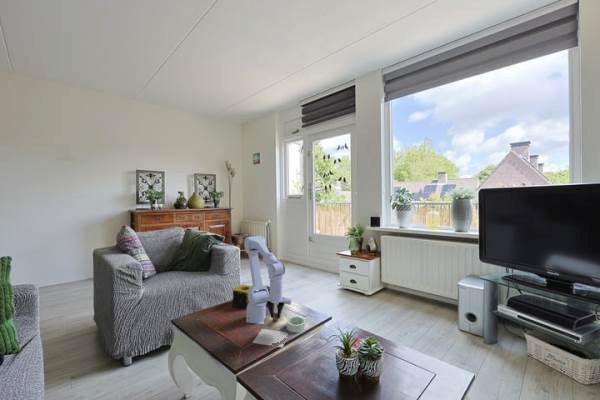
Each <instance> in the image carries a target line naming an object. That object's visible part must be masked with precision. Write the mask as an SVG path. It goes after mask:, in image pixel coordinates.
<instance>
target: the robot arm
mask: <svg viewBox="0 0 600 400" xmlns="http://www.w3.org/2000/svg"><path fill="white" fill-rule="evenodd" d="M243 244H244V245H243V246H244V251H245V253H246V254H247V255H248V260H249V261H248V262H249V267H250V275H251V282H252V285H251V286H252V287H251V288H250V289H249V290H248V300H249V303H248V305H247V309H246V318H245V319H246V321H245V322H246V323H251V324H256V325H264V319H265V318H266V317H268V316H271V318H273V313H275V304H277V305H276V308H277V313H278V316H277V318H278V319H279V318H280V315H281V316H282V311H283V308H284V306H285V305H286V304H287V305H288V306H289V305H290V306H291V304H292V298H288V297H284V296H283V275H284V274H285V272H286V266H285V264H284V262H283V261H280V260H278V258H277V257H276V256H275V255H274V253H273V252H270V251H269V249H268V247H267V245H266V238H265V237H264V235H256V236H255V235H254V236H246V237H245V239H244V243H243ZM259 253H260V255H261V256H262V261H263V263H264V264H265V266H266V267H267V273H268V279H269V286H270V296H269V292H268V290H267V287H266V285H265V284H263V281H262V273H261V267H260V260H259ZM260 289H261V290H260ZM259 290H260V291H259ZM254 291H256V292H254ZM266 307H267V309H268V311H269V315H268V316H266V310H267V309H266Z"/></svg>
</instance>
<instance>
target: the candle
mask: <svg viewBox="0 0 600 400" xmlns="http://www.w3.org/2000/svg"><path fill="white" fill-rule="evenodd" d="M251 287H252V285H245V284H240V285H238V286H237V287H235V288H234V289H232V300H231V302H232V304H231V306H232V307H233V308H238V309H243V310H247V305H248V303H249V300H248V290H249V289H250V288H251ZM256 291H257V290H256ZM256 291H254V292H256Z"/></svg>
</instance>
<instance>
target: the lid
mask: <svg viewBox="0 0 600 400" xmlns="http://www.w3.org/2000/svg"><path fill="white" fill-rule="evenodd" d="M277 316H278V312H274V313H273V318H271V315H268V317H266V318H265V319H264V324H263V325H264V326H265V327H267V328H271V329H278V328H279V329H280V328H283V327H284V326H287V320H288V318H286V316H284V315H282V314H281V315H280V318H279V319H278V318H277Z"/></svg>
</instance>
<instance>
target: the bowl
mask: <svg viewBox="0 0 600 400" xmlns="http://www.w3.org/2000/svg"><path fill="white" fill-rule="evenodd" d="M298 324H299V325H298ZM304 329H305V330H306V319H305V318H304V317H302V316H296V315H295V316H290V317H288V318H287V324H286V330H287V332H289V333H292V332H296V333H295V334H298V333H297V332H301V331H303V330H304ZM305 330H304V331H305ZM304 331H303V332H304ZM301 333H302V332H301Z"/></svg>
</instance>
